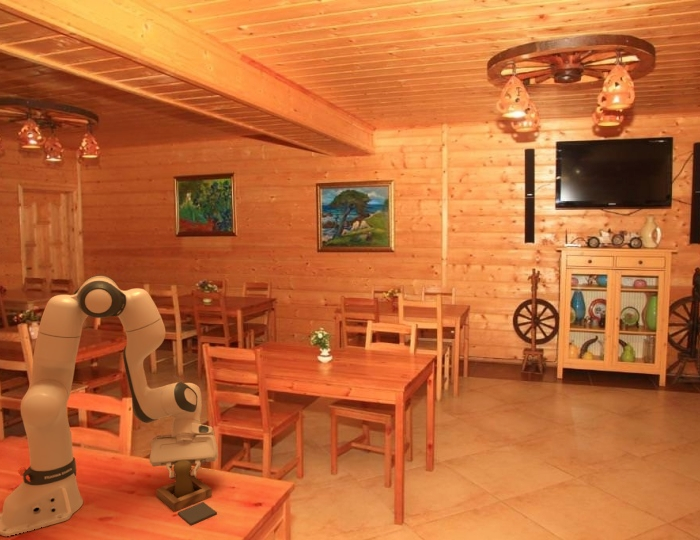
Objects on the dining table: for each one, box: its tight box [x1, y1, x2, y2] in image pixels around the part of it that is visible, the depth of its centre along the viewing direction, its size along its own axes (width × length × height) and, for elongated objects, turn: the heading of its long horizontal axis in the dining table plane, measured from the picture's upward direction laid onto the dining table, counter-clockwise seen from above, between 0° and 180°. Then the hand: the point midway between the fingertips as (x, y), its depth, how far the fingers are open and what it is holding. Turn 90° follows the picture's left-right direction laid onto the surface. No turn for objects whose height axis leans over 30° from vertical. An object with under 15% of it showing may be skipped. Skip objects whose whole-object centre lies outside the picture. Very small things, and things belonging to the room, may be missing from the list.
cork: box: [173, 460, 195, 498], centre depth 167 cm, size 6×6×11 cm
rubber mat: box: [177, 501, 218, 526], centre depth 157 cm, size 8×8×1 cm
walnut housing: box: [155, 476, 213, 513], centre depth 167 cm, size 12×12×2 cm
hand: (182, 477), depth 166 cm, fingers closed on cork, 5 cm apart
